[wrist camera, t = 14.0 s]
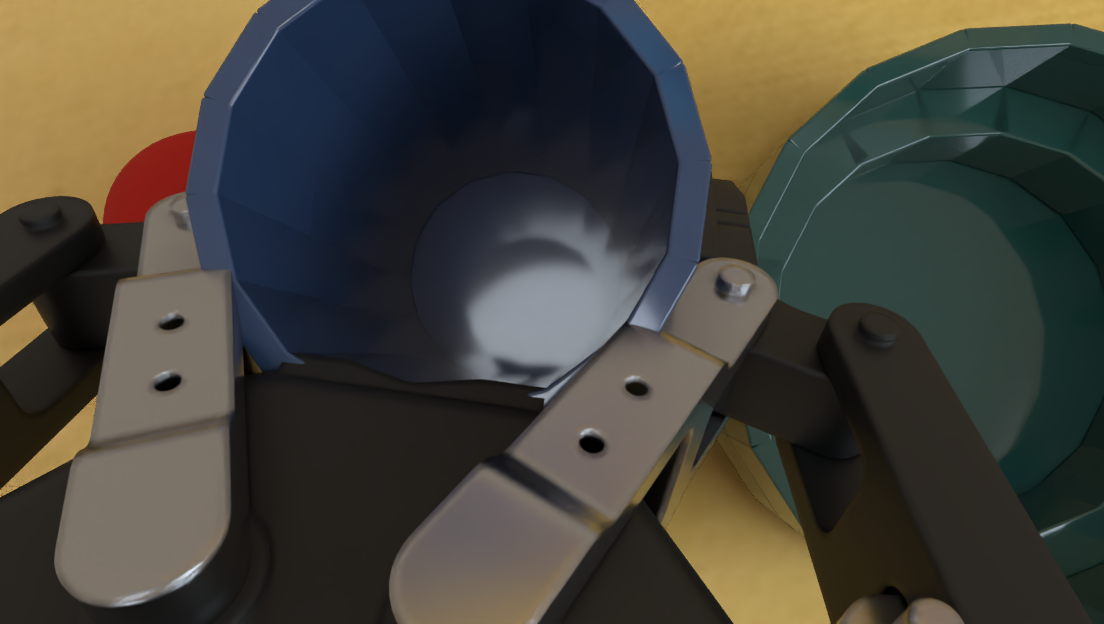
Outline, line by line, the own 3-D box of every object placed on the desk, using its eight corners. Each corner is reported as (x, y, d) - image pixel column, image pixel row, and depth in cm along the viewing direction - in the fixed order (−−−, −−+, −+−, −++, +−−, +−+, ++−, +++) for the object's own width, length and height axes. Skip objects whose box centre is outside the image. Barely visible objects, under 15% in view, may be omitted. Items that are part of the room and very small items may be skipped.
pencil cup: (385, 377, 18) (146, 402, 8) (420, 151, 18) (234, -100, 8) (616, 409, 18) (673, 479, 8) (646, 180, 18) (738, -43, 8)
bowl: (660, 535, 19) (693, 601, 14) (718, 81, 19) (768, -13, 14) (1134, 606, 18) (1347, 701, 13) (1173, 137, 19) (1389, 59, 14)
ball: (168, 319, 19) (30, 307, 14) (197, 153, 20) (71, 85, 15) (335, 342, 19) (252, 338, 14) (362, 174, 20) (289, 113, 15)
